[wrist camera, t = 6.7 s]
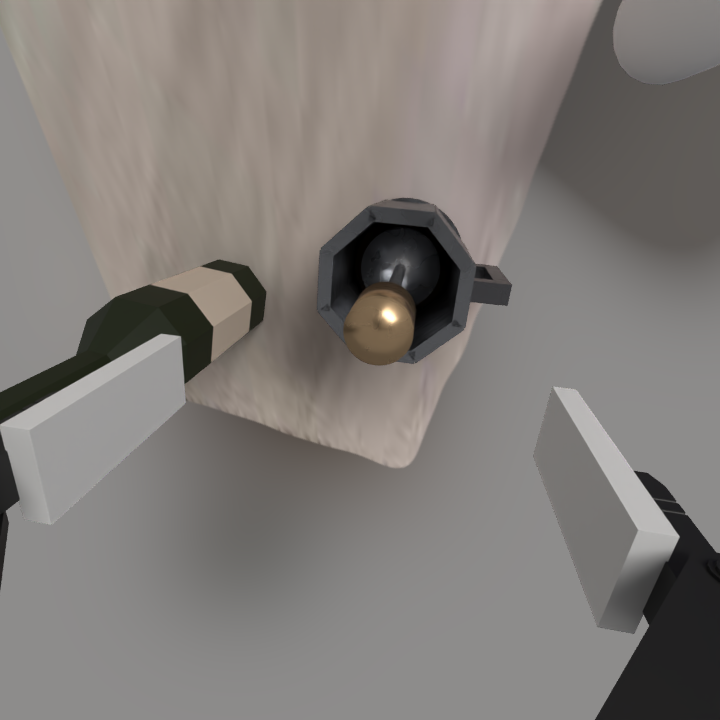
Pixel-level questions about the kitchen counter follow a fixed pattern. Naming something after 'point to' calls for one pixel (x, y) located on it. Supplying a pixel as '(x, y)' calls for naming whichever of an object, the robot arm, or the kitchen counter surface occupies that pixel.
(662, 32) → the white rounded cylinder
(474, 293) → the dark grey mug
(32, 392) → the wine bottle
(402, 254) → the plunger
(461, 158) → the kitchen counter surface
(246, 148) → the kitchen counter surface
